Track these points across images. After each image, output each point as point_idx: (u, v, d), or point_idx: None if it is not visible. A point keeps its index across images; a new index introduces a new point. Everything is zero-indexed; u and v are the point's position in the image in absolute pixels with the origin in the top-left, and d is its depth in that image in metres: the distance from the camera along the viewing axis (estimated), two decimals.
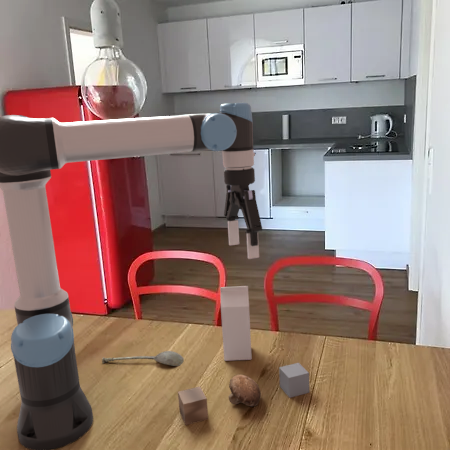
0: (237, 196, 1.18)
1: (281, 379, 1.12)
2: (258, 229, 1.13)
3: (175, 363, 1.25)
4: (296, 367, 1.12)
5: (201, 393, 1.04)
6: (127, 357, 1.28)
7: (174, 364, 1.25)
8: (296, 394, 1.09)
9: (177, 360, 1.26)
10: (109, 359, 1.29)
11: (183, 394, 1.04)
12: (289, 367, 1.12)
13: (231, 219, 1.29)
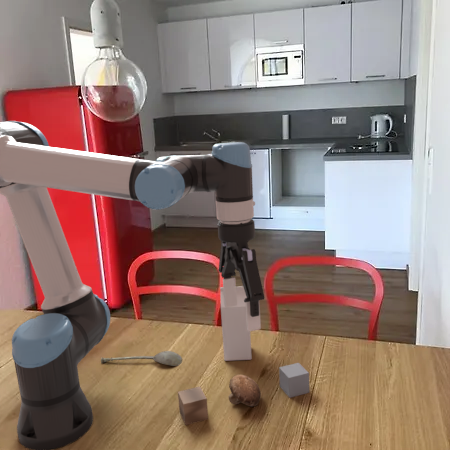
0: (234, 255, 0.98)
1: (281, 379, 1.12)
2: (259, 298, 0.93)
3: (174, 363, 1.25)
4: (296, 367, 1.12)
5: (201, 393, 1.04)
6: (126, 357, 1.28)
7: (173, 364, 1.25)
8: (296, 394, 1.09)
9: (175, 360, 1.26)
10: (108, 359, 1.29)
11: (183, 394, 1.04)
12: (289, 367, 1.12)
13: (227, 276, 1.09)
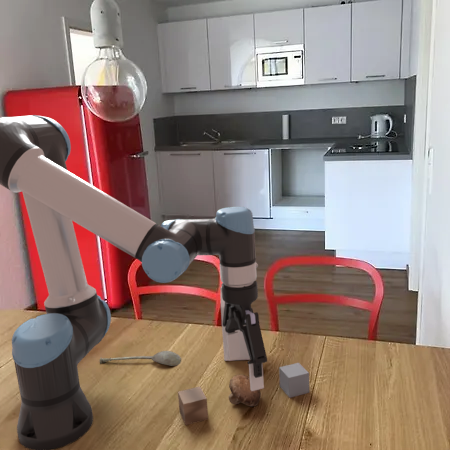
0: (237, 316, 1.01)
1: (281, 379, 1.12)
2: (262, 361, 0.95)
3: (173, 363, 1.25)
4: (296, 367, 1.12)
5: (201, 393, 1.04)
6: (125, 357, 1.28)
7: (172, 364, 1.25)
8: (296, 394, 1.09)
9: (174, 360, 1.26)
10: (107, 359, 1.29)
11: (183, 393, 1.04)
12: (289, 367, 1.12)
13: (231, 331, 1.11)
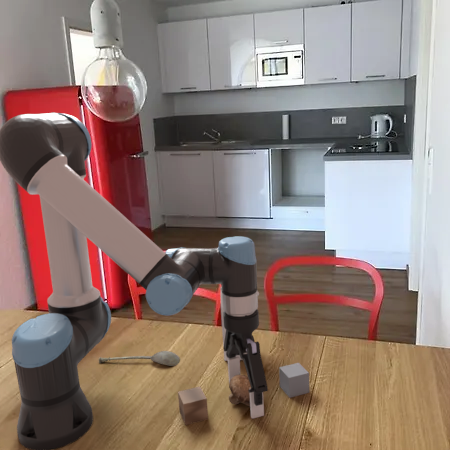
0: (238, 344, 1.02)
1: (281, 379, 1.12)
2: (263, 390, 0.97)
3: (172, 363, 1.25)
4: (296, 367, 1.12)
5: (201, 393, 1.04)
6: (124, 357, 1.29)
7: (170, 364, 1.25)
8: (296, 394, 1.09)
9: (173, 360, 1.26)
10: (106, 359, 1.29)
11: (183, 393, 1.04)
12: (289, 367, 1.12)
13: (231, 356, 1.13)
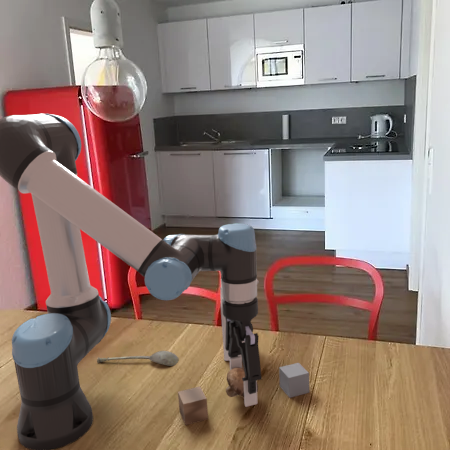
0: (237, 333, 1.02)
1: (281, 379, 1.12)
2: (257, 379, 0.99)
3: (170, 363, 1.25)
4: (296, 367, 1.12)
5: (201, 393, 1.04)
6: (122, 357, 1.29)
7: (169, 364, 1.25)
8: (296, 394, 1.09)
9: (172, 360, 1.26)
10: (104, 359, 1.29)
11: (183, 393, 1.04)
12: (289, 367, 1.12)
13: (234, 356, 1.10)
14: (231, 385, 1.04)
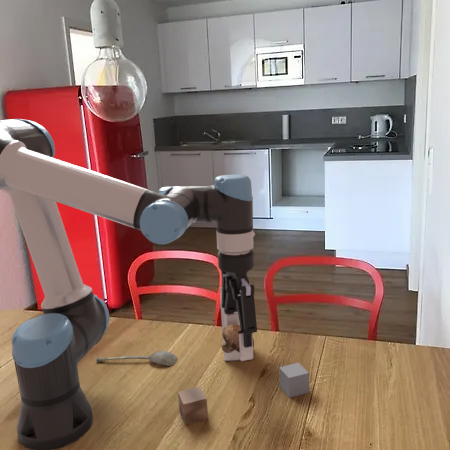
0: (233, 285, 1.00)
1: (281, 379, 1.12)
2: (252, 331, 0.98)
3: (169, 363, 1.25)
4: (296, 367, 1.12)
5: (201, 393, 1.04)
6: (121, 357, 1.29)
7: (168, 364, 1.25)
8: (296, 394, 1.09)
9: (170, 360, 1.26)
10: (103, 359, 1.29)
11: (183, 394, 1.04)
12: (289, 367, 1.12)
13: (230, 312, 1.09)
14: (227, 340, 1.03)
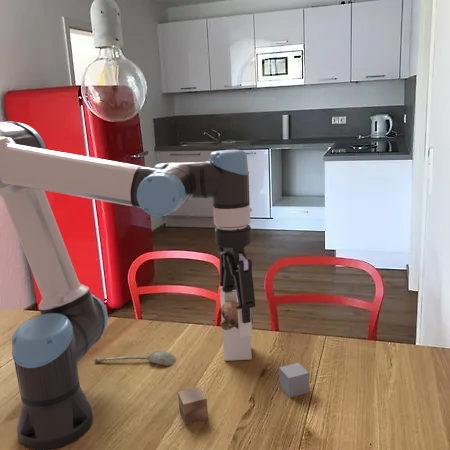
0: (230, 261, 1.00)
1: (281, 379, 1.12)
2: (251, 306, 0.97)
3: (168, 363, 1.26)
4: (296, 367, 1.12)
5: (201, 393, 1.04)
6: (119, 357, 1.29)
7: (166, 364, 1.25)
8: (296, 394, 1.09)
9: (169, 360, 1.26)
10: (101, 359, 1.29)
11: (183, 394, 1.04)
12: (289, 367, 1.12)
13: (228, 290, 1.09)
14: (225, 316, 1.03)
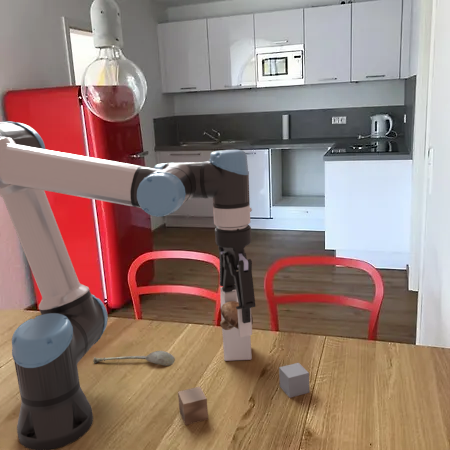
0: (230, 261, 1.00)
1: (281, 379, 1.12)
2: (251, 306, 0.97)
3: (167, 363, 1.26)
4: (296, 367, 1.12)
5: (201, 393, 1.04)
6: (118, 357, 1.29)
7: (165, 364, 1.25)
8: (296, 394, 1.09)
9: (168, 360, 1.26)
10: (100, 359, 1.29)
11: (183, 394, 1.04)
12: (289, 367, 1.12)
13: (228, 290, 1.09)
14: (225, 316, 1.03)
